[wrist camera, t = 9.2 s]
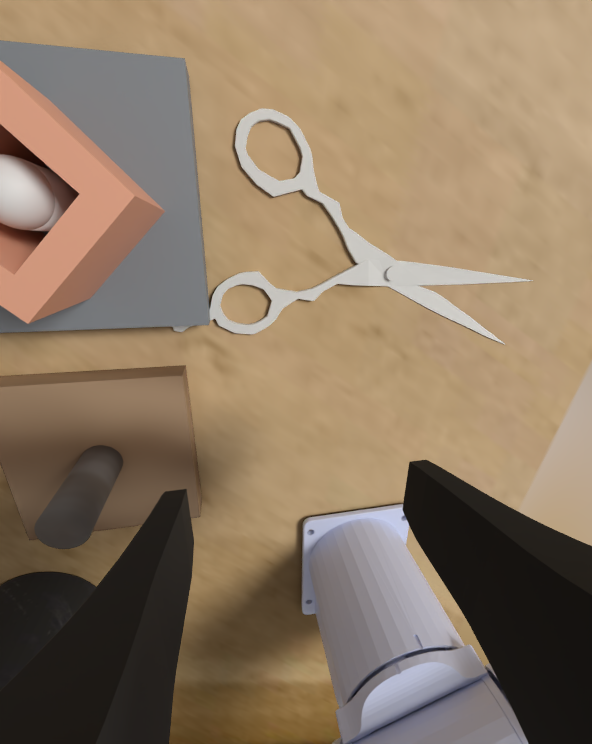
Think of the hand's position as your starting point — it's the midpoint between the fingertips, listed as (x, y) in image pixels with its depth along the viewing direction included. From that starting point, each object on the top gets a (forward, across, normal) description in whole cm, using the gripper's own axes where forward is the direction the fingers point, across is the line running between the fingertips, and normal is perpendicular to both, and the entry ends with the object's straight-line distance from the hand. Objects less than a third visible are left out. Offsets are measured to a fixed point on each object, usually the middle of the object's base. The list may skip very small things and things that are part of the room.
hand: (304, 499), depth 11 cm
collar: (+8, +8, -9) cm, 14 cm away
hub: (+9, +8, -9) cm, 15 cm away
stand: (+9, +9, +3) cm, 13 cm away
